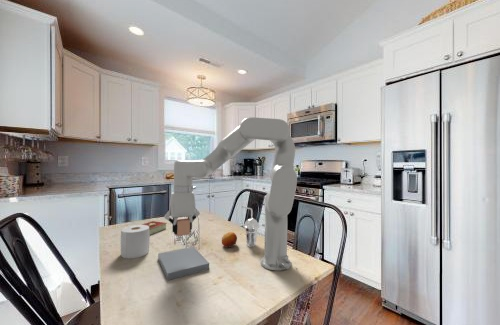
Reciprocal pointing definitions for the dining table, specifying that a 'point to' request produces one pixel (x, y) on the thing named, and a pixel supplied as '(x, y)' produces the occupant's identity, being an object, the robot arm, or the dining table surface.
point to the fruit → (229, 239)
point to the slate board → (182, 262)
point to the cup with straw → (251, 230)
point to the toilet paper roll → (134, 241)
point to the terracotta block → (183, 226)
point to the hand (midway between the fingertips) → (182, 232)
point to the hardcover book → (155, 226)
